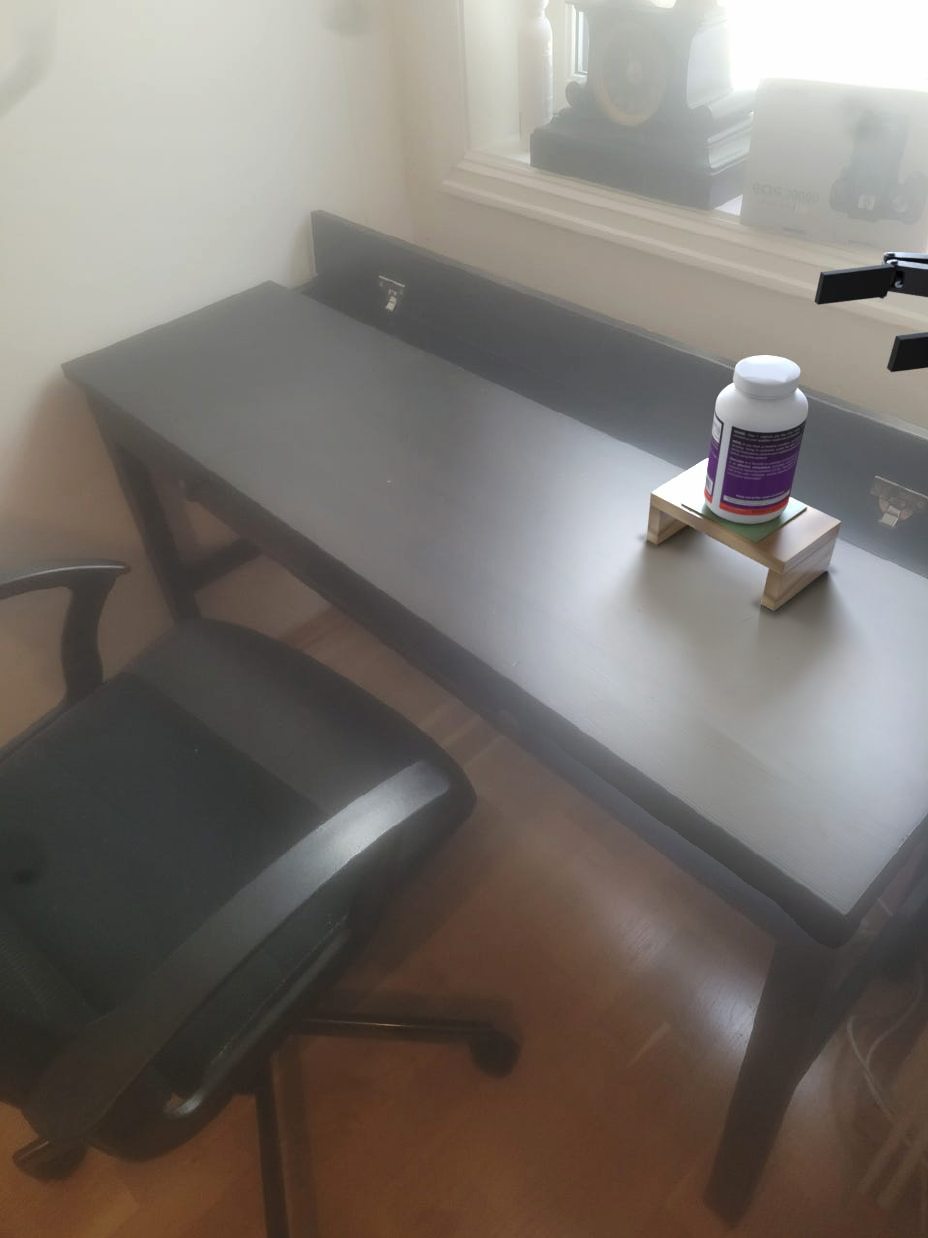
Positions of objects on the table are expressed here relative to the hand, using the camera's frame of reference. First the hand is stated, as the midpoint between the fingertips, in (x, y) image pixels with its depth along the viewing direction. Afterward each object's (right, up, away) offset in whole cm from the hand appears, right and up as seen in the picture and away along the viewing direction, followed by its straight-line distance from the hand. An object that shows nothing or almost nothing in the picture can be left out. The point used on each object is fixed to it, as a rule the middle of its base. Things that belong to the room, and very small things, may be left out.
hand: (853, 319), depth 73 cm
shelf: (-5, -19, +16) cm, 25 cm away
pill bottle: (-5, -14, +12) cm, 20 cm away
